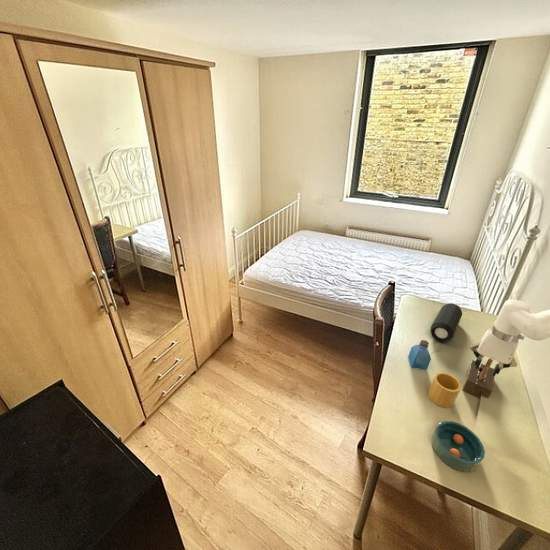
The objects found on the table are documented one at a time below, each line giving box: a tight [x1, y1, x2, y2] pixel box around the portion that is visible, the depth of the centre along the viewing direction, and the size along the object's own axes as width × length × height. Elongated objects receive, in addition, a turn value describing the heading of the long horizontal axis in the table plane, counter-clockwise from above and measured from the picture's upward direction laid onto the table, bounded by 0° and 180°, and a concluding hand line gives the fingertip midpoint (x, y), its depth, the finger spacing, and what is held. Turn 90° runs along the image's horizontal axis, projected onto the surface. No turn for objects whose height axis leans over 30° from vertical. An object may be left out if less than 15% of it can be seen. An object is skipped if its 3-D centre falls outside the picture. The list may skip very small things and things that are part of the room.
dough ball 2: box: [449, 448, 460, 458], centre depth 91 cm, size 3×3×3 cm
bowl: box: [431, 420, 486, 473], centre depth 93 cm, size 14×14×5 cm
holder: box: [461, 359, 496, 400], centre depth 116 cm, size 8×13×6 cm, turn 142°
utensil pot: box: [427, 371, 463, 409], centre depth 109 cm, size 9×9×9 cm
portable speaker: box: [429, 302, 463, 343], centre depth 145 cm, size 26×10×10 cm, turn 141°
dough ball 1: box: [453, 434, 464, 445], centre depth 95 cm, size 3×3×3 cm
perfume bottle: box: [407, 339, 432, 370], centre depth 124 cm, size 6×6×12 cm
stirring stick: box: [478, 358, 493, 381], centre depth 112 cm, size 1×1×16 cm
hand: (485, 369), depth 110 cm, fingers open, 4 cm apart
